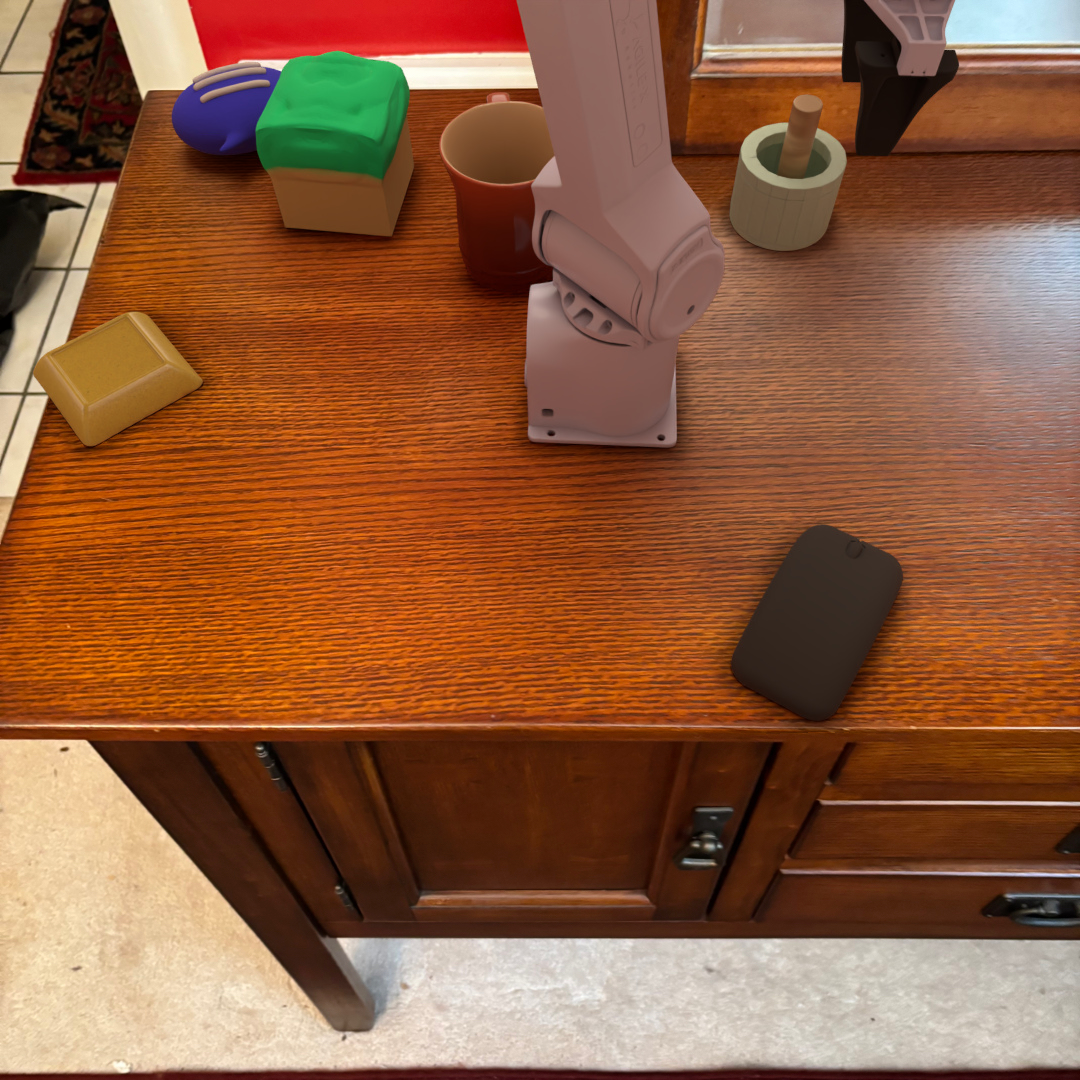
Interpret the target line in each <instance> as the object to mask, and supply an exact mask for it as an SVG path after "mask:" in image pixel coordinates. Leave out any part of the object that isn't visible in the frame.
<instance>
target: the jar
mask: <svg viewBox="0 0 1080 1080" xmlns="http://www.w3.org/2000/svg"><path fill="white" fill-rule="evenodd" d="M787 127H788V122H778V123H777V122H776V123H772V124H766V125H764V126H762V127H759V128H757V129H754V130H753V131H751V133H749V134H748V135H747V136H746V137H745V138H744V140H743V142H742V144H741V146H740V150H739V156H738V161H737V165H736V172H735V177H734V182H733V188H732V193H731V198H730V204H729V214H728V215H729V221H730V223H731V226H732V227H733V229H734V231H735V232H736V233H737V234H738V235H739V237H741V238H743V239H744V240H745V241H747V242H749V243H750V244H752V245H755V246H756V247H759V248H763V249H766V250H771V251H778V252H779V251H780V252H790V251H797V250H803V249H805V248H808V247H810V246H812V245H814V244H816V243H817V242H819V240H821V239H822V237H823V236H824V235H825V234H826V232H827V230H828V227H829V224H830V221H831V219H832V215H833V211H834V208H835V205H836V201H837V198H838V195H839V191H840V187H841V184H842V180H843V179H844V178H843V177H844V174H845V170H846V167H847V163H848V161H847V153H846V150H845V148H844V147H843V145H842V144H841V142H840V141H839V140H838V139H837V138H835V137H834V136H833V135H831V134H830V133H829V132H827V131H826V130H823V129H820V128H818V127H817V131H816V135H815V139H814V143H813V147H812V151H811V154H810V158H809V162H808V166H807V170H806V174H805V178H804V179H789V178H785V177H781V176H778V175H777V170H778V166H779V162H780V157H781V153H782V148H783V144H784V140H785V135H786V131H787Z"/></svg>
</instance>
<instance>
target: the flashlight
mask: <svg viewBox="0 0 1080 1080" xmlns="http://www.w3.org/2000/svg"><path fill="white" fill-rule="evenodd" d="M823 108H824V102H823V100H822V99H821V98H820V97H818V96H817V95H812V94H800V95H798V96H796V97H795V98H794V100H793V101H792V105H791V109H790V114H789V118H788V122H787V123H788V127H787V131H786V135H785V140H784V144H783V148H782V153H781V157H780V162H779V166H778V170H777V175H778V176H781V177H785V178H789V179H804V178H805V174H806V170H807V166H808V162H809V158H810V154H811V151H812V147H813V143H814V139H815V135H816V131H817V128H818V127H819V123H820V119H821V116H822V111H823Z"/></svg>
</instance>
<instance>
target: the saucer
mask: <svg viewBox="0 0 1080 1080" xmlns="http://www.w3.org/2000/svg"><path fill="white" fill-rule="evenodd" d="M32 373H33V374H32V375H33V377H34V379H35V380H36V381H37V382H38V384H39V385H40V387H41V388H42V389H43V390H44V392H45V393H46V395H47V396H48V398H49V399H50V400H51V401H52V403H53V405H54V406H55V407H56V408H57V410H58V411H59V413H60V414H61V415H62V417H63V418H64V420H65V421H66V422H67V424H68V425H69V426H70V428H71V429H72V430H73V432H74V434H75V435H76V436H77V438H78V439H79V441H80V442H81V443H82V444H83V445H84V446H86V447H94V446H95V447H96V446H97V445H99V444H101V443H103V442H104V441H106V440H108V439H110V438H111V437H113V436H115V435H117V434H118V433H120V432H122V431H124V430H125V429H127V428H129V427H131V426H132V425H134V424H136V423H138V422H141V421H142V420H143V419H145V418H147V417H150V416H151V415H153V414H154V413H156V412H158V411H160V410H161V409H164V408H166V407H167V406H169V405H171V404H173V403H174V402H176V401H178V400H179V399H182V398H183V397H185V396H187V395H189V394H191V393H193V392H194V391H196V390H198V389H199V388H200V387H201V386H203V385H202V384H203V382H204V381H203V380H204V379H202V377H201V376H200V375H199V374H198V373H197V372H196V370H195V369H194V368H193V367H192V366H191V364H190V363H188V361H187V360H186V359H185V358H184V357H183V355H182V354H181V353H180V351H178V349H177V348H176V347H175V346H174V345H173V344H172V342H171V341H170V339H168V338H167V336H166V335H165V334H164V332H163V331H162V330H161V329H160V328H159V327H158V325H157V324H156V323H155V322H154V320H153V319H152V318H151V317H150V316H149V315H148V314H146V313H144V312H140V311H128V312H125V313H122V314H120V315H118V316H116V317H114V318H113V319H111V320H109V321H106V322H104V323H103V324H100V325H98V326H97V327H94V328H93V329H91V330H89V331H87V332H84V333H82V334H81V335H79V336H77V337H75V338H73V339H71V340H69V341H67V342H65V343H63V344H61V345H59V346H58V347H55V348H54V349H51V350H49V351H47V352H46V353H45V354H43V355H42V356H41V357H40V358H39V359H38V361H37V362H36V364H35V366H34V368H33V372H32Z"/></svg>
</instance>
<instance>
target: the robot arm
mask: <svg viewBox="0 0 1080 1080" xmlns="http://www.w3.org/2000/svg"><path fill="white" fill-rule="evenodd" d="M955 3H956V0H843V34H842V35H843V36H842V47H841V66H840V67H841V71H840V72H841V80H842V83H855V84H856V83H859V85H860V90H859V91H860V94H859V104H858V105H859V106H858V110H857V111H858V112H857V118H856V123H855V132H854V147H855V153H856V156H861V157H863V156H864V157H865V156H866V157H889V155H890V154H891V153H892V152H893V150H894V149H895V147H896V146H897V144H898V143H899V141H900V140H901V139H902V137H903V135H904V134H905V133H906V130H907V129H908V128H909V127H910V124H911V123H912V121H914V119H915V117H916V116H917V114H918V113H919V112H920V111H921V109H922V108H923V107H924V106H925V105H926V104H927V103H928V101H930V100H931V98H933V97H934V96H935V95H936V94H937V93H938V92H939V91H940V90H942V89H943V88H944V87H945V86H946V85H948V84H949V83H951V82H952V81H953V80H954V78H955V77H956V76H957V73H958V70H959V68H960V62H959V58H958V55H957V52H956V49H946V47H947V44H948V43H947V37H946V28H947V25H948V21H949V19H950V17H951V13H952V12H953V11H952V10H953V8H954V5H955ZM516 4H517V8H518V12H519V16H520V20H521V24H522V28H523V33H524V37H525V41H526V45H527V49H528V53H529V57H530V61H531V65H532V69H533V74H534V78H535V81H536V85H537V89H538V94H539V98H540V101H541V107H543V110H544V114H545V118H546V122H547V127H548V131H549V135H550V139H551V143H552V147H553V151H554V155H555V156H554V157H553V158H552V159H551V160H550V161H549V162H548V163H547V164H546V165H545V166H544V168H543V169H542V171H541V172H540V173H539V175H538V176H537V178H536V179H535V180H534V182H533V183H532V185H531V189H532V192H533V196H534V200H535V218H534V224H533V230H532V244H533V249H534V252H535V254H536V255H537V257H538V258H539V259H540V260H541V261H542V262H544V263H545V264H546V265H549V266H552V267H554V268H553V276H552V281H546V282H545V283H541V284H534V285H531V287H530V290H529V293H528V294H529V295H528V303H527V304H528V305H527V318H526V319H527V320H526V349H525V351H526V352H525V353H526V354H525V355H526V356H525V357H526V358H525V361H524V387H525V388H526V391H527V392H526V393H527V395H526V396H527V421H528V422H527V423H528V424H527V425H528V427H527V438H528V439H529V441H531V442H533V443H547V444H549V443H550V444H552V443H553V444H574V445H575V444H576V445H596V446H597V445H599V446H623V447H645V448H647V447H648V448H667V449H668V448H674V447H675V446H676V445H677V441H678V423H677V421H678V420H677V365H676V363H677V356H678V349H679V344H680V338H681V337H680V336H681V335H683V334H684V333H686V332H687V331H689V330H690V329H691V328H692V327H693V326H694V325H695V324H696V323H698V321H699V320H700V319H701V318H702V316H703V315H704V314H705V313H706V311H707V310H708V309H709V307H710V306H711V304H712V303H713V302H714V299H715V298H716V296H717V293H718V292H719V289H720V287H721V284H722V282H723V278H724V275H725V262H726V261H725V260H726V252H725V248H724V244H723V243H722V241H720V239H718V237H715V236H714V234H713V231H712V227H711V215H710V213H709V211H708V209H707V208H706V207H705V205H704V204H703V203H702V201H701V200H700V198H699V196H698V195H697V194H696V193H695V191H693V189H692V187H690V185H689V184H688V182H687V181H686V179H684V177H683V176H682V175H681V174H680V172H679V170H678V169H677V168H676V166H675V165H674V163H673V160H672V150H671V149H672V147H671V138H670V131H669V130H670V128H669V118H668V110H667V97H666V87H665V78H664V77H665V76H664V68H663V66H664V65H663V56H662V55H663V54H662V47H661V46H662V45H661V35H660V25H659V14H658V5H657V4H658V3H657V0H516ZM660 439H662V440H660Z"/></svg>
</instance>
